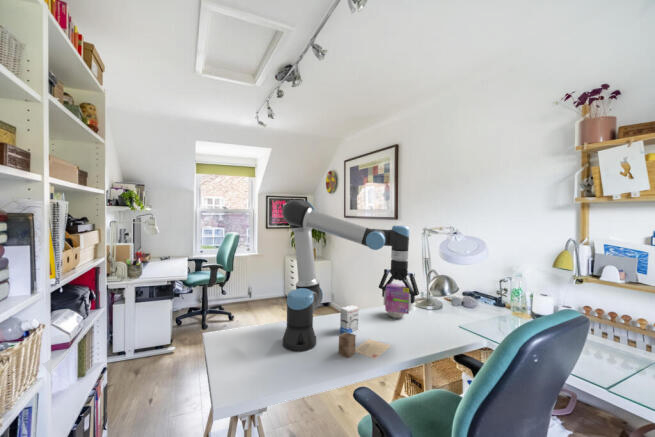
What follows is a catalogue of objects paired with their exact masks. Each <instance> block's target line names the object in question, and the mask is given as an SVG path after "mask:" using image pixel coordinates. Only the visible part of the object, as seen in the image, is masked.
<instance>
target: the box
mask: <svg viewBox="0 0 655 437" xmlns="http://www.w3.org/2000/svg"><path fill="white" fill-rule="evenodd" d="M409 296H410V293H409V288H406V286H405V284H400V283H393V282H391V284H387V285H386V307H385V306H384V307H385V312H387V311H390V312H397V313H405V314H406V315H409V312H410V311H408V308H409ZM405 314H404V315H405Z"/></svg>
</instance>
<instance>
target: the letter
mask: <svg viewBox="0 0 655 437" xmlns="http://www.w3.org/2000/svg"><path fill="white" fill-rule="evenodd" d="M390 347H391V345H389V344H387V343H383V342H380V341H377V340H374V339H370V338H368V339H367V340H366V341H365V342H362V344H360V345H359V346H357V347H355V353H357V354H360V355H363V356H366V357H368V358H370V359H371V358H372V359H373V360H376V359H377V358H379V357H380V356H382V354H384V352H386V351H387V350H388V349H389V348H390Z"/></svg>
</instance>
